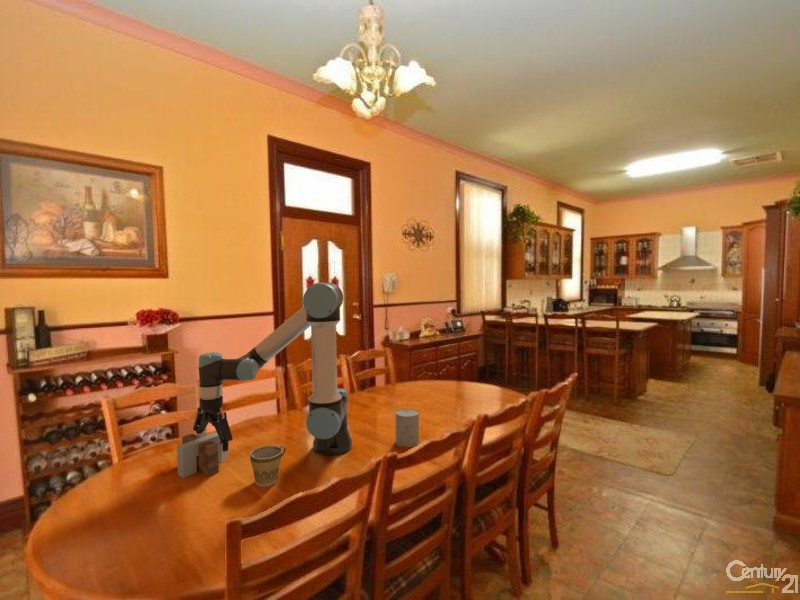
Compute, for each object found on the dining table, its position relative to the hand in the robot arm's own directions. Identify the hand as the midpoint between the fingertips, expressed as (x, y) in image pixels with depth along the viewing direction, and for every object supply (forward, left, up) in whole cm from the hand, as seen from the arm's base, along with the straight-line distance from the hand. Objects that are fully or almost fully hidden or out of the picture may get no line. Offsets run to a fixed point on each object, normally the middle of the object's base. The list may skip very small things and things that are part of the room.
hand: (212, 455), depth 143 cm
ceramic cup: (-27, -3, -3) cm, 27 cm away
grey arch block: (0, +5, -3) cm, 5 cm away
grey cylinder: (-49, -53, -3) cm, 72 cm away
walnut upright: (0, +5, -3) cm, 6 cm away
